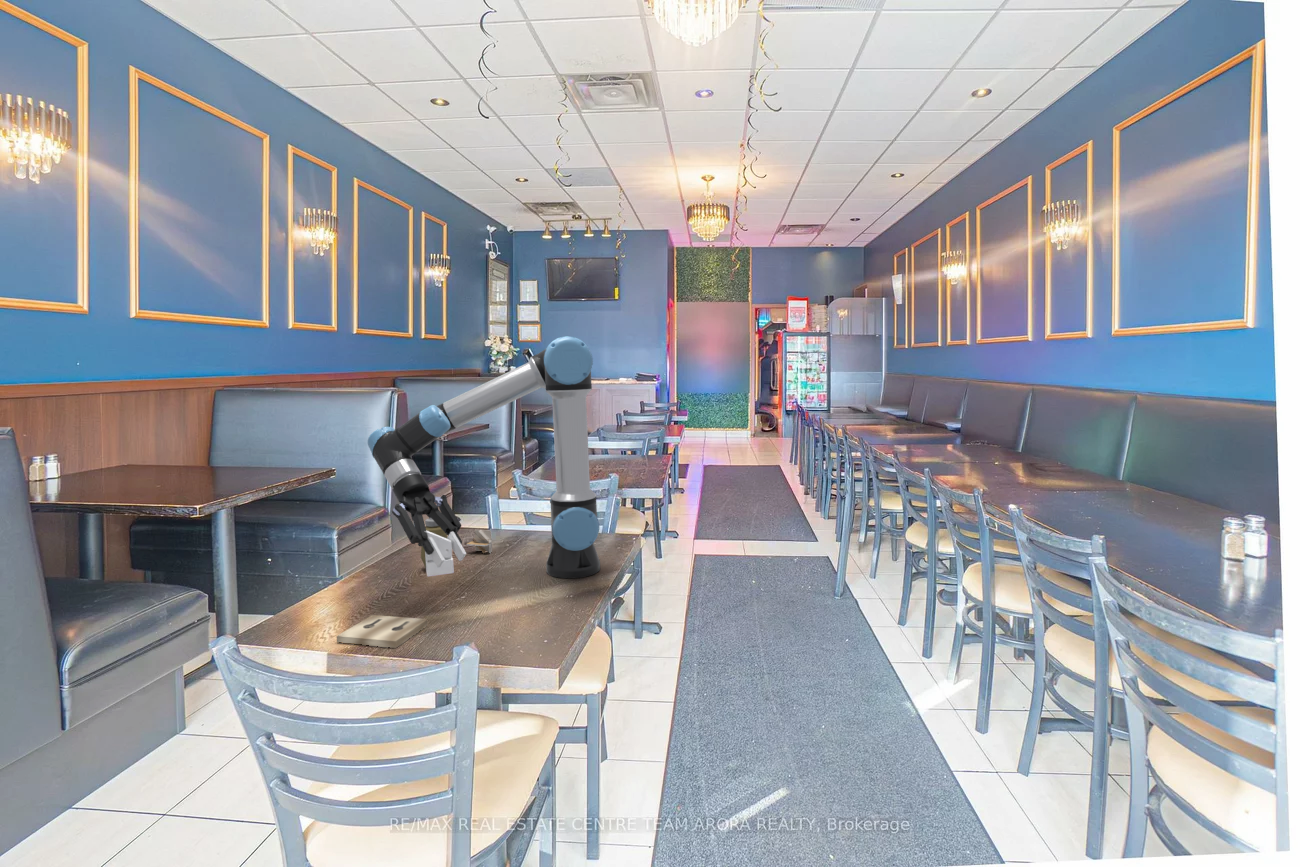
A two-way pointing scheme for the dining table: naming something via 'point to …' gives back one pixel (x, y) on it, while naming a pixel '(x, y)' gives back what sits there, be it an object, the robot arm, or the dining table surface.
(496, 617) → the dining table surface
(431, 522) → the squeeze bottle
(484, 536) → the architectural model
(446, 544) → the white angled block
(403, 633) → the mount board
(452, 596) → the dining table surface
